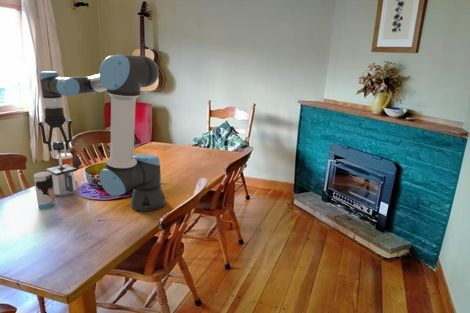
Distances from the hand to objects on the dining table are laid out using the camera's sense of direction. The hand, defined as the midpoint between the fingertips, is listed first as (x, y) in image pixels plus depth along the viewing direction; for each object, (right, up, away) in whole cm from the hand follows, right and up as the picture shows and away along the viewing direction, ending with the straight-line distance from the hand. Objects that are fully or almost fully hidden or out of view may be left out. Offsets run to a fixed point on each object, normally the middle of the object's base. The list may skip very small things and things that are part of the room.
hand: (59, 156), depth 153 cm
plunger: (0, -13, +4) cm, 14 cm away
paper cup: (-7, -12, +22) cm, 26 cm away
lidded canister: (+1, -18, +4) cm, 18 cm away
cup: (0, -22, -10) cm, 24 cm away
